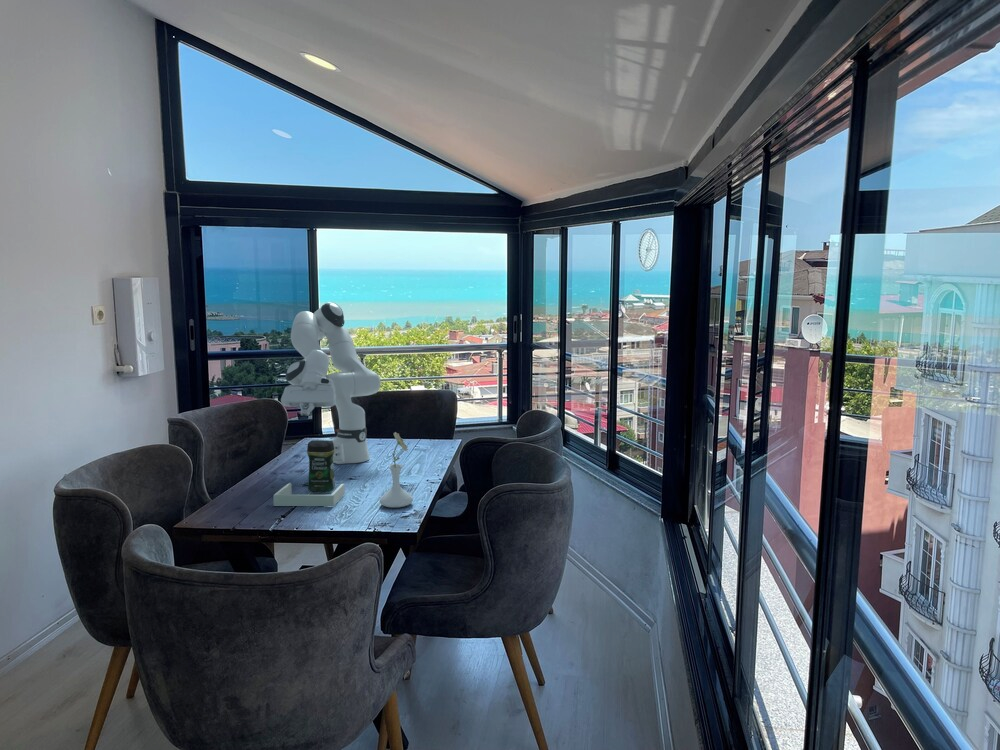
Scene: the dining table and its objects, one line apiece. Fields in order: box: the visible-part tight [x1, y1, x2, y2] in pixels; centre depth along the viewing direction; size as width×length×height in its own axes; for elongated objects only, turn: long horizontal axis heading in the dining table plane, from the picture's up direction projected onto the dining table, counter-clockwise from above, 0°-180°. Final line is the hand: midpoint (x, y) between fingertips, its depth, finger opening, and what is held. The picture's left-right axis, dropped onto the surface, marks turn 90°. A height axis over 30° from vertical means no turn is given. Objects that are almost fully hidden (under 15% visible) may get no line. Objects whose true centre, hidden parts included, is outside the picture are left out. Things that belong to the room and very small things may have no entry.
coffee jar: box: [306, 439, 336, 492], centre depth 242 cm, size 10×8×19 cm
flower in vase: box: [379, 431, 414, 509], centre depth 223 cm, size 13×11×25 cm
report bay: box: [272, 482, 346, 508], centre depth 229 cm, size 14×20×4 cm
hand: (304, 414), depth 244 cm, fingers closed
